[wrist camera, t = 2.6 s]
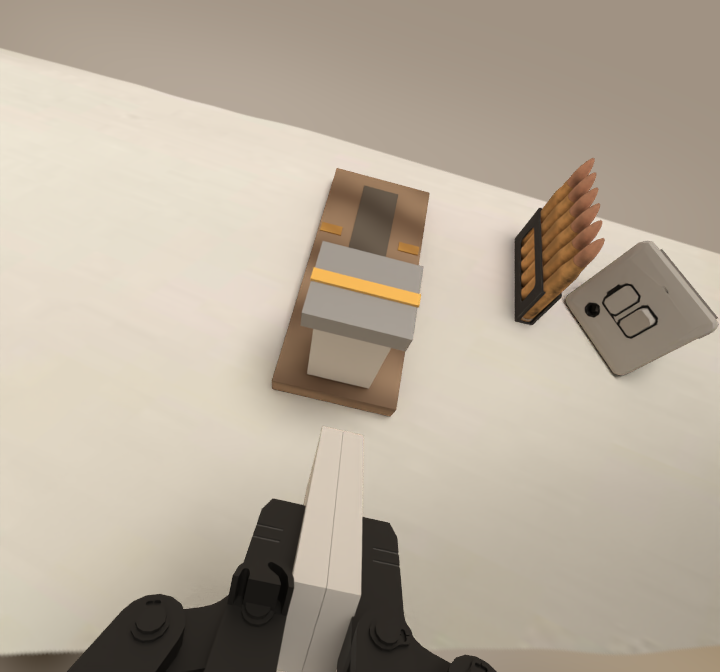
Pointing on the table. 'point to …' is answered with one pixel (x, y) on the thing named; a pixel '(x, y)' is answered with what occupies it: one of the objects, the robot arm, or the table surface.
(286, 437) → the table surface
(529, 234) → the ammunition clip
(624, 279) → the electrical switch
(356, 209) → the fader console
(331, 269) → the fader tab
